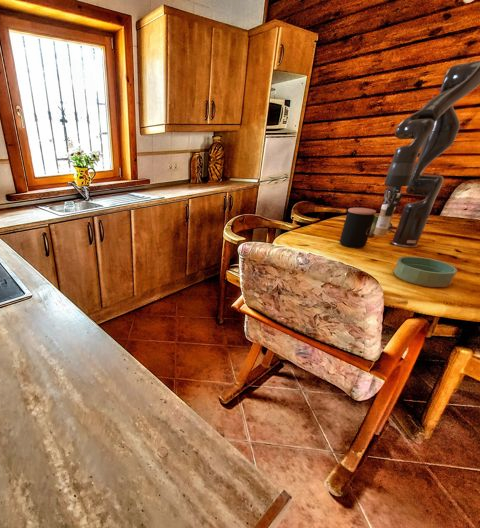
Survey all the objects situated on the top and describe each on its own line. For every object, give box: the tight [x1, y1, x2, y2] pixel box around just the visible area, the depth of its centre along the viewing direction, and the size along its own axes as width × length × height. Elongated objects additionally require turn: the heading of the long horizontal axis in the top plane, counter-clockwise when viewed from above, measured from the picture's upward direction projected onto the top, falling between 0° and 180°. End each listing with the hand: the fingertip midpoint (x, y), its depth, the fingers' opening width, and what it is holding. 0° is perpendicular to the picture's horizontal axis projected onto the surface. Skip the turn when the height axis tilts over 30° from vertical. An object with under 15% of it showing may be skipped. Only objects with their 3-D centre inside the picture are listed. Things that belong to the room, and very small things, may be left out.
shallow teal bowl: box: [392, 256, 458, 288], centre depth 105 cm, size 16×16×6 cm
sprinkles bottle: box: [374, 203, 397, 237], centre depth 122 cm, size 5×5×14 cm
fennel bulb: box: [368, 214, 379, 238], centre depth 148 cm, size 6×5×12 cm
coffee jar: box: [339, 207, 377, 249], centre depth 137 cm, size 11×11×18 cm
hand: (386, 214), depth 120 cm, fingers closed on sprinkles bottle, 4 cm apart
